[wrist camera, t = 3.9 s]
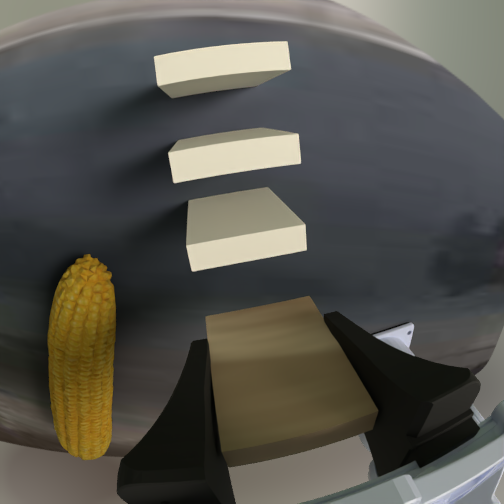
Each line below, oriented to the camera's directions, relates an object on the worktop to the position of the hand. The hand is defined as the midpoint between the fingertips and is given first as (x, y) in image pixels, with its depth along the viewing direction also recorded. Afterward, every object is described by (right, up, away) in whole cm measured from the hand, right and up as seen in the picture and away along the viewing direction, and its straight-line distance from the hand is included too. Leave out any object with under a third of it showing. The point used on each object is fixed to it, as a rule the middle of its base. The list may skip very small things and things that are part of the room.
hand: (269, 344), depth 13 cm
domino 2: (-3, +10, +5) cm, 12 cm away
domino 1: (-3, +14, +3) cm, 15 cm away
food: (-15, -5, +10) cm, 18 cm away
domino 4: (0, +1, +2) cm, 2 cm away
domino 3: (-2, +7, +7) cm, 10 cm away
